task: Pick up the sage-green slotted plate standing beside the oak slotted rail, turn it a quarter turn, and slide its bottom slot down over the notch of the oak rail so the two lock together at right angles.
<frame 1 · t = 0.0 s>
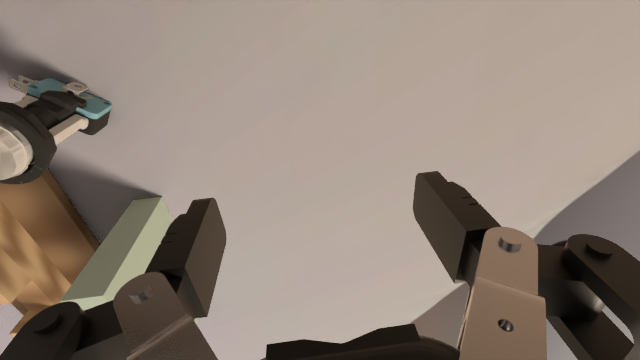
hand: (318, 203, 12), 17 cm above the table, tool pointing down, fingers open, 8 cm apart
push button: (73, 95, 25), on the table
oak slotted rail: (53, 267, 35), on the table
sage slotted plate: (174, 252, 35), on the table
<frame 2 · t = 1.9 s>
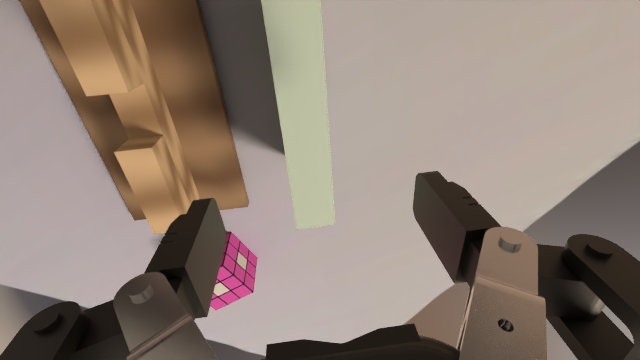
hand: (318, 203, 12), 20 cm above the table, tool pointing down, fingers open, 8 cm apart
puzzle toy: (227, 252, 40), on the table
oak slotted rail: (153, 99, 28), on the table
sage slotted plate: (298, 84, 29), on the table
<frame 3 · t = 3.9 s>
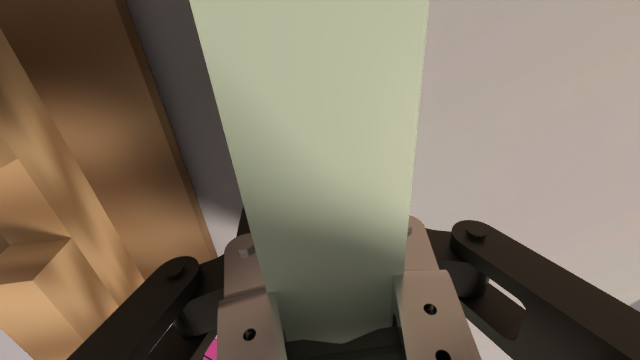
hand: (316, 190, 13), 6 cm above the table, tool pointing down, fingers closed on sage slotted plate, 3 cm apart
puzzle toy: (205, 356, 28), on the table
oak slotted rail: (66, 166, 17), on the table
sage slotted plate: (308, 139, 18), on the table, touching gripper
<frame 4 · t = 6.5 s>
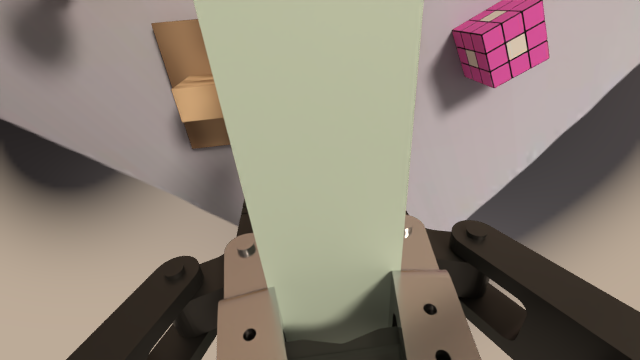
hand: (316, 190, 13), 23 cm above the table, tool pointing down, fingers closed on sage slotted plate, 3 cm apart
puzzle toy: (481, 40, 33), on the table
oak slotted rail: (296, 78, 33), on the table
sage slotted plate: (308, 137, 18), point 17 cm above the table, touching gripper
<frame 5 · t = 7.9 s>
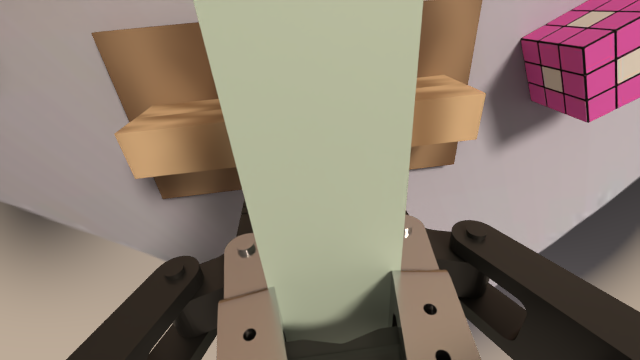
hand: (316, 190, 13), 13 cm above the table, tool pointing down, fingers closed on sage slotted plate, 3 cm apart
puzzle toy: (558, 52, 24), on the table
oak slotted rail: (302, 105, 24), on the table
sage slotted plate: (308, 137, 18), point 7 cm above the table, touching gripper
when the fingers open (8 cm above the table, at t = 9.3 s): sage slotted plate stays where it is, resting on oak slotted rail.
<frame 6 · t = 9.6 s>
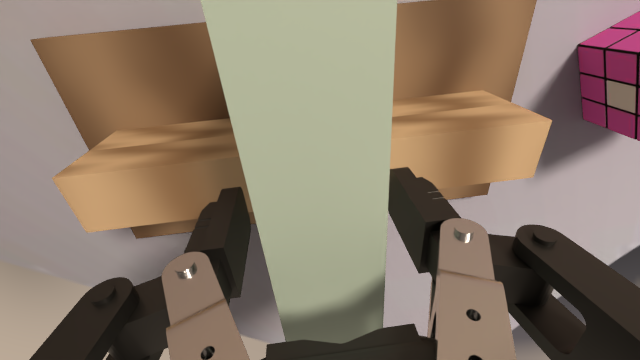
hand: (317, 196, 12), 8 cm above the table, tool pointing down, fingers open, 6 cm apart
puzzle toy: (621, 61, 19), on the table
oak slotted rail: (306, 127, 19), on the table
sage slotted plate: (305, 131, 18), point 1 cm above the table, touching oak slotted rail
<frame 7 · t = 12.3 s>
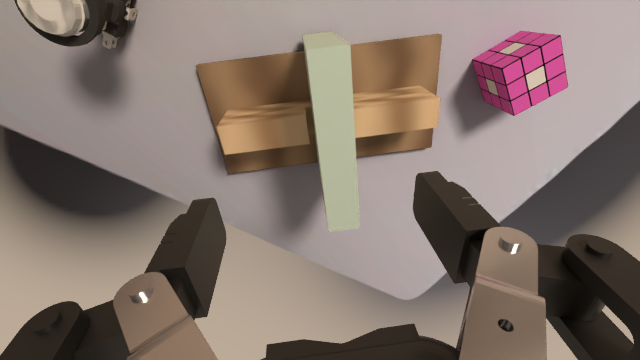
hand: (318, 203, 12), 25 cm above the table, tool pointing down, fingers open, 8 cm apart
push button: (120, 12, 29), on the table
puzzle toy: (500, 67, 35), on the table
oak slotted rail: (324, 108, 35), on the table
sage slotted plate: (324, 109, 34), point 1 cm above the table, touching oak slotted rail
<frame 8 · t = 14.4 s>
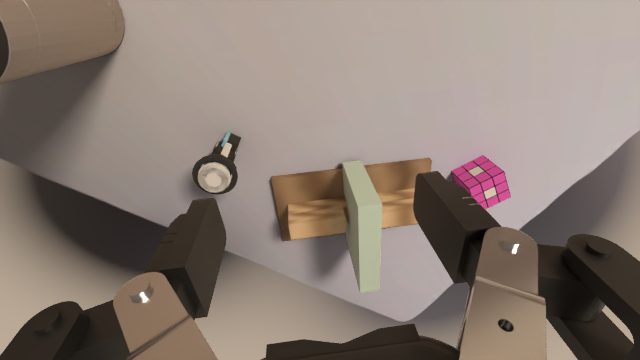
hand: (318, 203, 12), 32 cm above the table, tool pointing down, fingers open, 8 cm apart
push button: (226, 149, 45), on the table
puzzle toy: (470, 174, 52), on the table
oak slotted rail: (352, 199, 52), on the table
sage slotted plate: (353, 202, 51), point 1 cm above the table, touching oak slotted rail
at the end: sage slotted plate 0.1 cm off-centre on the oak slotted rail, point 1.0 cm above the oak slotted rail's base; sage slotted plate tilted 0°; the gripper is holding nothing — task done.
